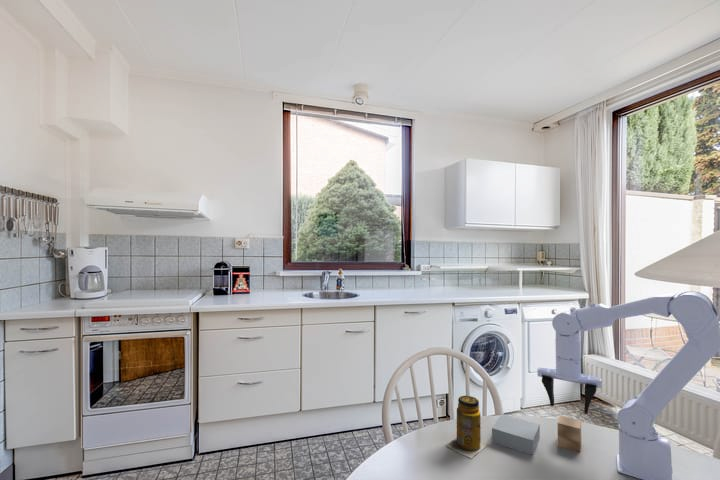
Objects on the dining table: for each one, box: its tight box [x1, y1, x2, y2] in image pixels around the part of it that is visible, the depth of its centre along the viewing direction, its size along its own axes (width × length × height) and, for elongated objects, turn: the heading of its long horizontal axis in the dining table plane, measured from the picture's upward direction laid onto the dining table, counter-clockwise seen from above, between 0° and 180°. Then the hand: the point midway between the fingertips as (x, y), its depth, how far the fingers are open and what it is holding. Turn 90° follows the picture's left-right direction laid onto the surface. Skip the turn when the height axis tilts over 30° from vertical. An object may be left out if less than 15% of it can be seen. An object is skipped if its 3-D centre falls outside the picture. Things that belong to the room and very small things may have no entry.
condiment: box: [445, 395, 488, 459], centre depth 90 cm, size 7×8×12 cm
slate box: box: [491, 413, 541, 456], centre depth 93 cm, size 10×10×4 cm
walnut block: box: [557, 415, 582, 453], centre depth 90 cm, size 5×5×6 cm
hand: (568, 408), depth 91 cm, fingers open, 7 cm apart
